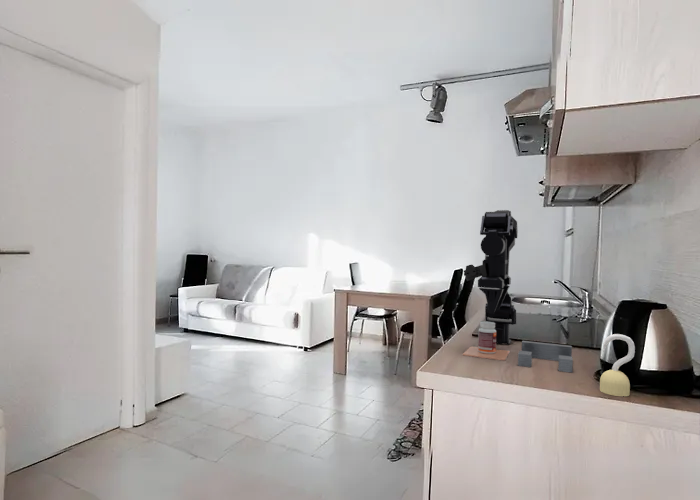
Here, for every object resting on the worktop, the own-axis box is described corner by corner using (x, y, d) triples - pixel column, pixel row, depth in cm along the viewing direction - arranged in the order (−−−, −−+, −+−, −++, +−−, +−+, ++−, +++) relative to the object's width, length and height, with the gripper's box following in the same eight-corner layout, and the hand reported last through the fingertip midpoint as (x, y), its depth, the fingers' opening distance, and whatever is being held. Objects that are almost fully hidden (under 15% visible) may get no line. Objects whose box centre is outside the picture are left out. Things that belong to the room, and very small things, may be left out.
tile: (470, 347, 127) (470, 346, 127) (509, 352, 122) (509, 350, 122) (462, 355, 117) (462, 353, 117) (505, 360, 113) (505, 359, 113)
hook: (604, 394, 87) (605, 335, 87) (596, 387, 92) (597, 330, 92) (638, 398, 85) (639, 337, 85) (629, 390, 90) (630, 333, 90)
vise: (523, 351, 123) (523, 338, 124) (570, 357, 118) (571, 342, 118) (517, 365, 108) (518, 349, 108) (572, 372, 102) (572, 355, 102)
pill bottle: (496, 354, 117) (497, 324, 117) (478, 353, 118) (479, 323, 118) (494, 351, 122) (495, 321, 122) (477, 349, 123) (478, 320, 123)
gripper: (473, 255, 133) (472, 305, 133) (459, 255, 116) (457, 313, 116) (511, 256, 127) (510, 308, 127) (502, 256, 111) (501, 316, 111)
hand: (494, 311), depth 121 cm, fingers open, 9 cm apart
